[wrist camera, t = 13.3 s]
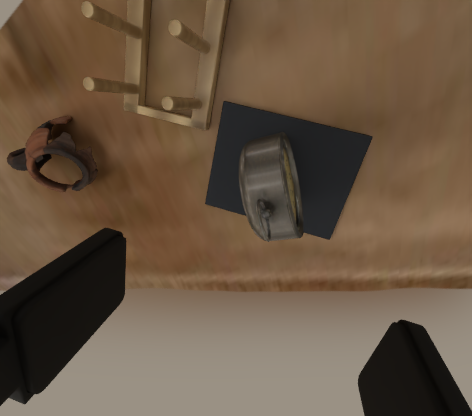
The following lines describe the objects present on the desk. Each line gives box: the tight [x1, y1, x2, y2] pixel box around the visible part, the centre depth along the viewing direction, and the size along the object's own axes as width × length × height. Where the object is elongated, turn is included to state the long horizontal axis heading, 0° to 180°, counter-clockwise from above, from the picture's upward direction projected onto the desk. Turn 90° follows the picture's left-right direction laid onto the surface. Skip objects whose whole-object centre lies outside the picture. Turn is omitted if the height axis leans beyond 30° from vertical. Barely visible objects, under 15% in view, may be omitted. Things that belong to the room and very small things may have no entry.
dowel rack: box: [82, 0, 230, 130], centre depth 26 cm, size 11×18×10 cm, turn 168°
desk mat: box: [205, 101, 372, 240], centre depth 34 cm, size 18×14×1 cm
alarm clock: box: [239, 132, 304, 242], centre depth 26 cm, size 11×5×16 cm, turn 15°
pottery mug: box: [7, 116, 98, 192], centre depth 37 cm, size 12×10×8 cm
